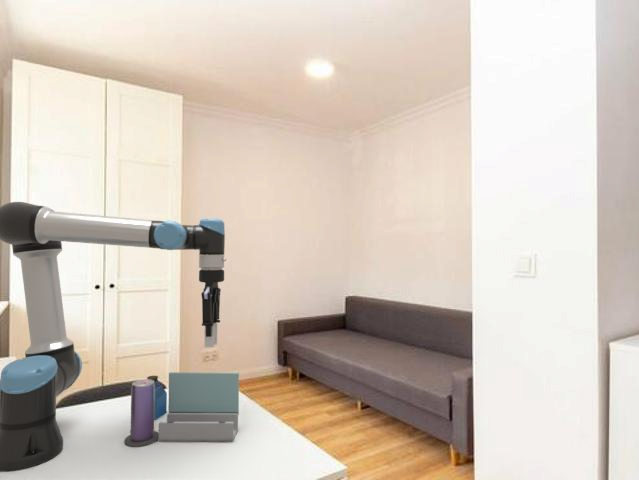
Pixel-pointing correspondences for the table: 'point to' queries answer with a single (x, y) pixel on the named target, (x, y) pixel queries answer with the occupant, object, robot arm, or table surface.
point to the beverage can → (142, 410)
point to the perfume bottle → (159, 399)
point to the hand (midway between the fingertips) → (210, 345)
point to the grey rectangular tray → (199, 427)
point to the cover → (203, 392)
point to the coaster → (131, 443)
